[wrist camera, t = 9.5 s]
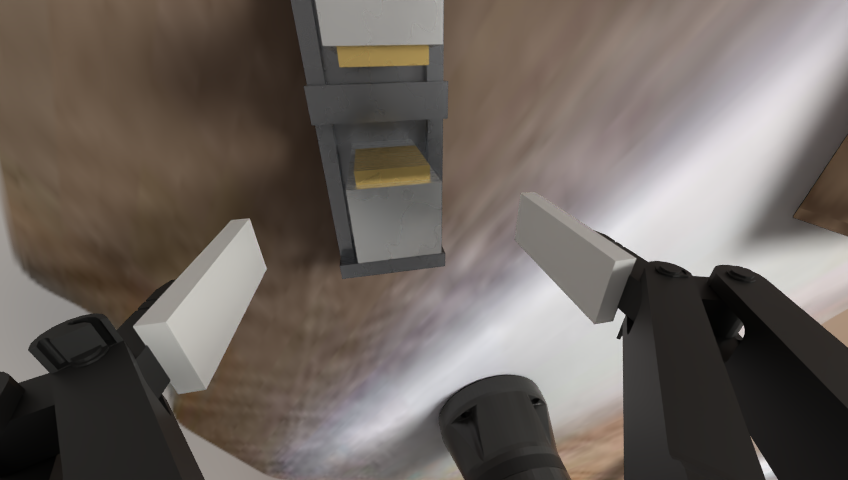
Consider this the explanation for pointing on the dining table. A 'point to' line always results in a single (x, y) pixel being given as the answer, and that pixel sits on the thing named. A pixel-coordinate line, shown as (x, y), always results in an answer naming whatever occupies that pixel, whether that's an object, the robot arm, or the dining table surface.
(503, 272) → the dining table surface
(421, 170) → the gold-topped white block
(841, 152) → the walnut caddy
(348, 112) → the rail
